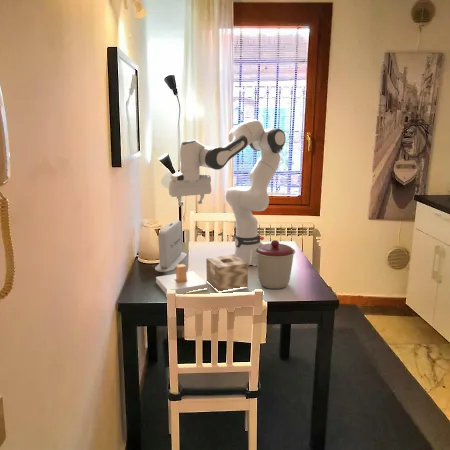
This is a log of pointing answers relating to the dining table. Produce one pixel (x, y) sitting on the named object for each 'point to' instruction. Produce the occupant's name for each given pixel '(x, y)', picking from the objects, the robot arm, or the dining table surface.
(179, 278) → the peg
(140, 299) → the dining table surface
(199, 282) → the socket plate
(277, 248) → the canister
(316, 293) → the dining table surface
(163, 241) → the wireless router
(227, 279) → the notched wooden cube
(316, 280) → the dining table surface
